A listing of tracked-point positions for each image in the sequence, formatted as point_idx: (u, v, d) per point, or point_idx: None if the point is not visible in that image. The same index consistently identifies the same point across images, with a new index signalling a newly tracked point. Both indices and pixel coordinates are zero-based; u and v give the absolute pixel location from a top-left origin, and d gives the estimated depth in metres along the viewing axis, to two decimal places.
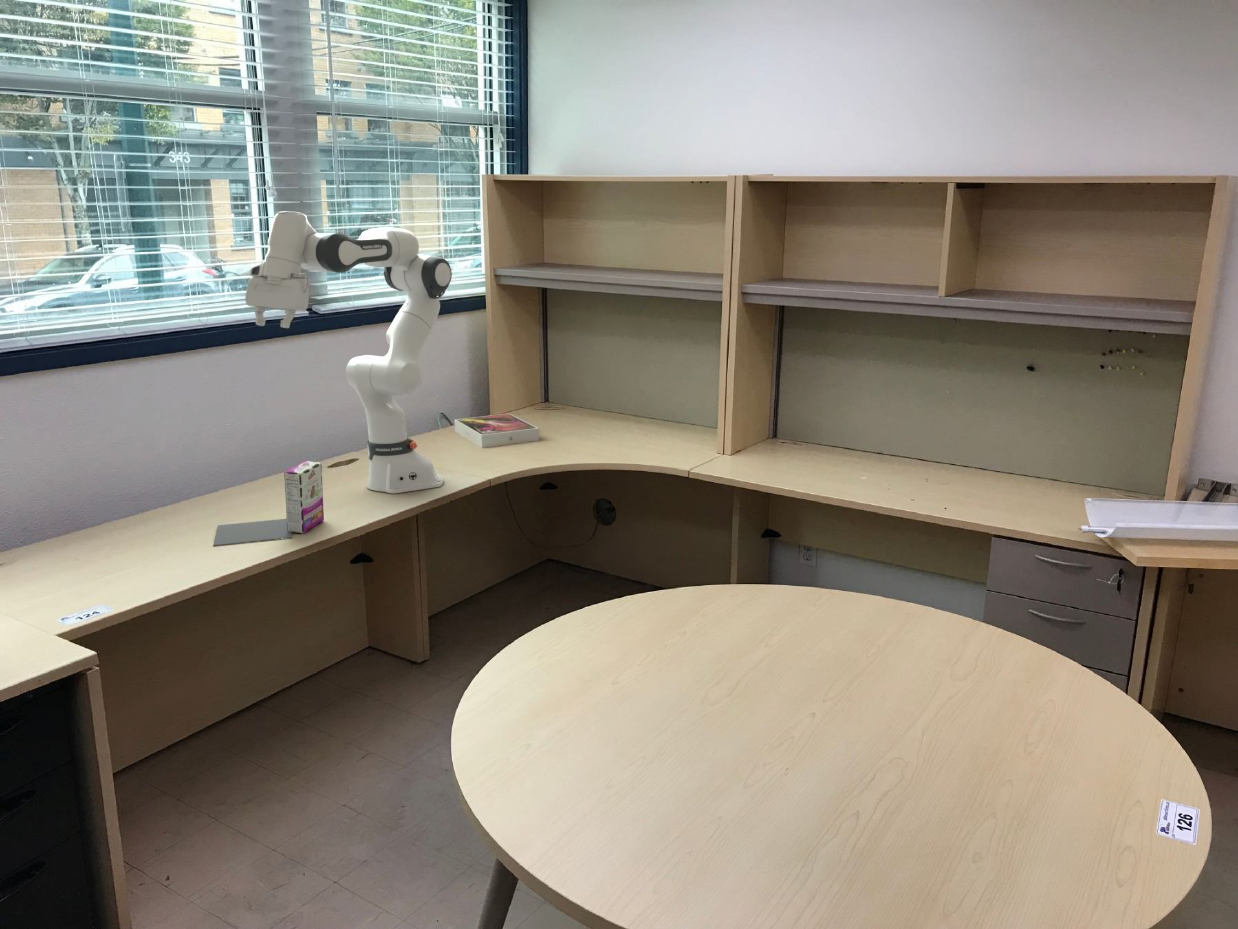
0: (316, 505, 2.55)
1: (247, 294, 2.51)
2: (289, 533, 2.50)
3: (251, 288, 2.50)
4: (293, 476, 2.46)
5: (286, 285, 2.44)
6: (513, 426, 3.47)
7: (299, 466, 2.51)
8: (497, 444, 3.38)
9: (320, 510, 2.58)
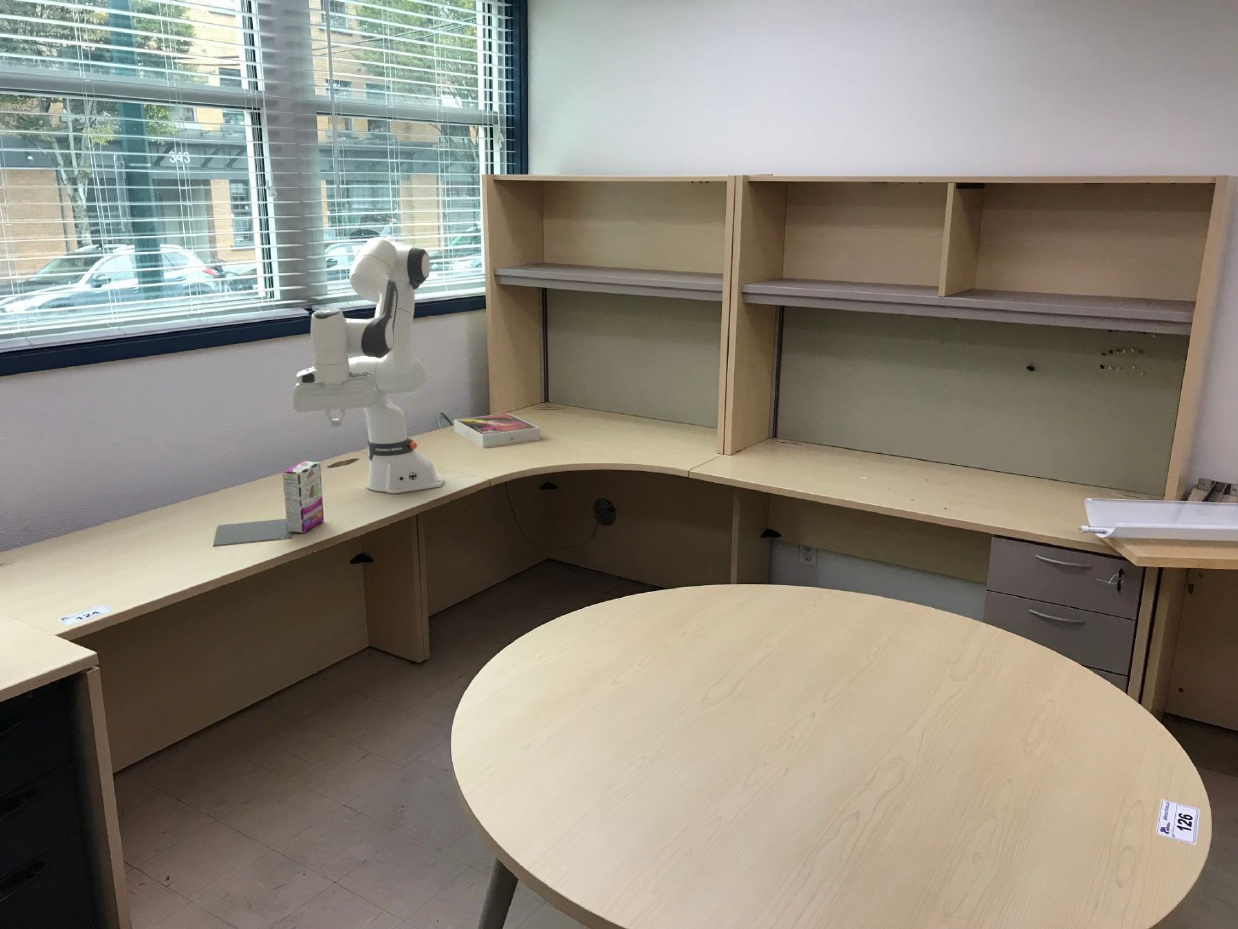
0: (315, 504, 2.55)
1: (297, 402, 2.45)
2: (289, 533, 2.50)
3: (300, 395, 2.45)
4: (291, 476, 2.46)
5: (352, 387, 2.48)
6: (513, 426, 3.47)
7: (298, 466, 2.51)
8: (498, 444, 3.38)
9: (320, 510, 2.58)
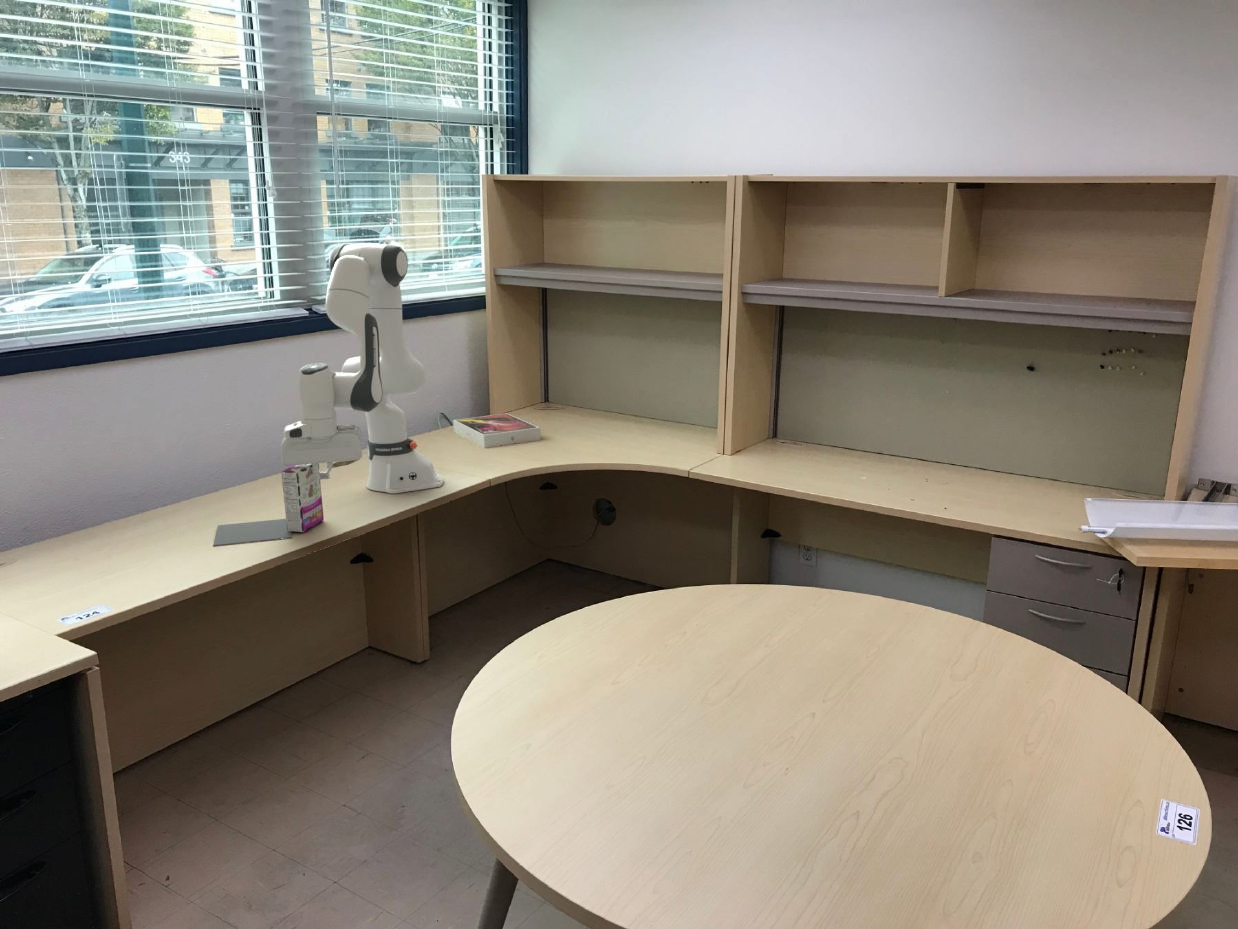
0: (315, 504, 2.55)
1: (284, 456, 2.47)
2: (289, 533, 2.50)
3: (288, 449, 2.47)
4: (290, 475, 2.47)
5: (340, 440, 2.51)
6: (514, 426, 3.47)
7: (296, 466, 2.52)
8: (499, 444, 3.38)
9: (319, 510, 2.58)
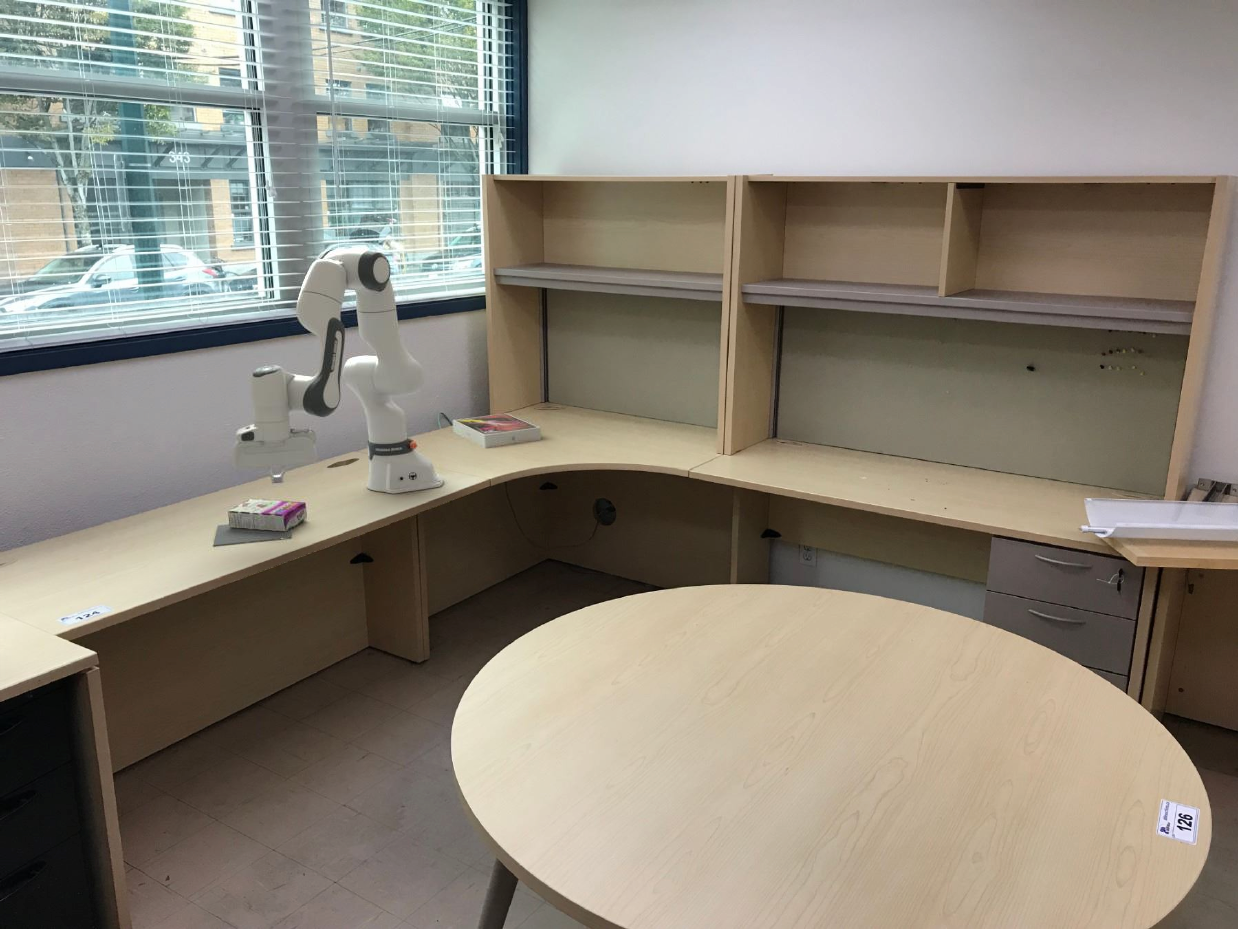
0: (279, 505, 2.57)
1: (237, 460, 2.44)
2: (289, 533, 2.50)
3: (240, 453, 2.44)
4: (231, 519, 2.53)
5: (293, 444, 2.47)
6: (514, 426, 3.47)
7: None
8: (500, 444, 3.38)
9: (290, 503, 2.58)
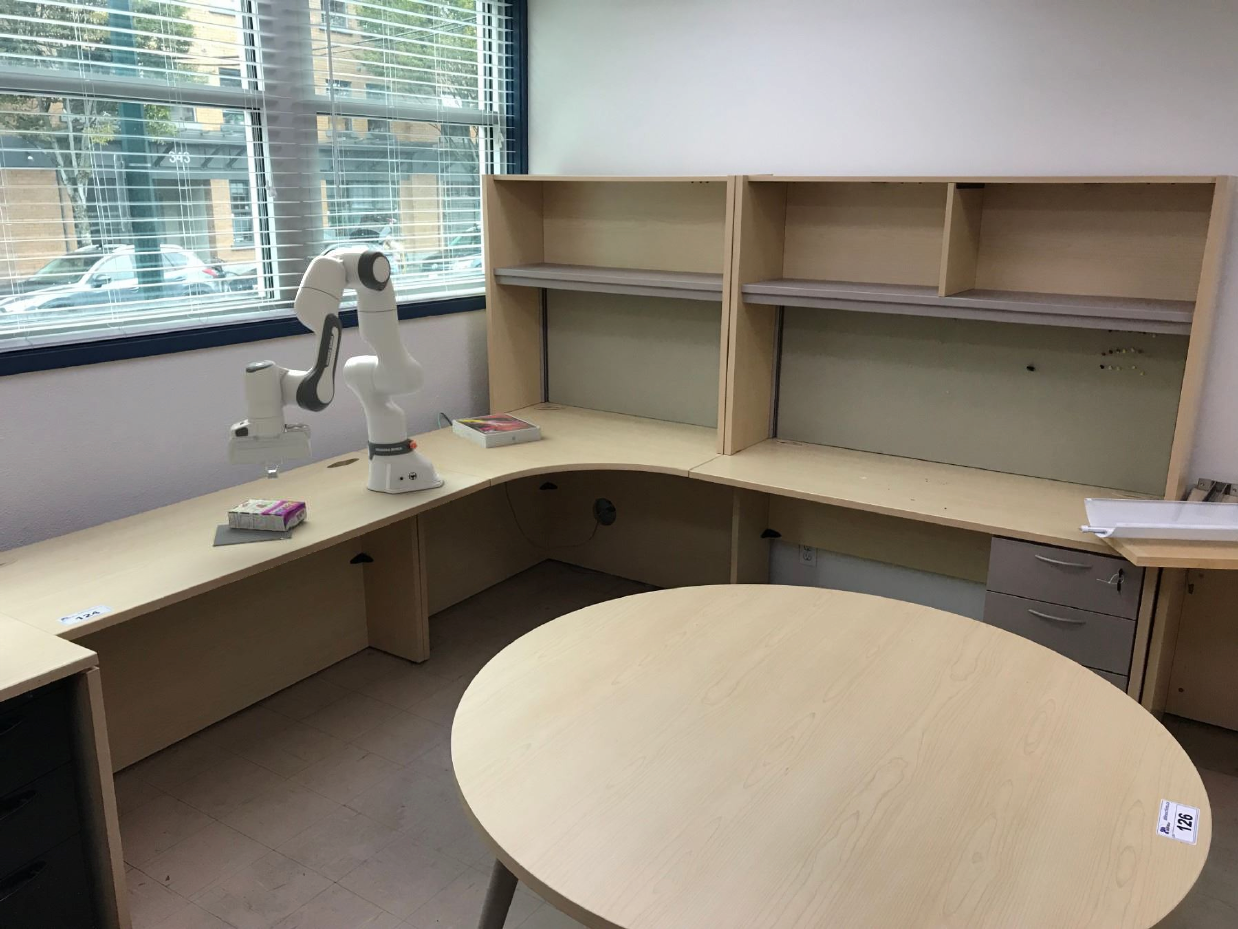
0: (278, 505, 2.57)
1: (231, 455, 2.43)
2: (289, 533, 2.50)
3: (235, 448, 2.43)
4: (231, 519, 2.53)
5: (288, 439, 2.47)
6: (514, 426, 3.47)
7: None
8: (501, 444, 3.38)
9: (290, 503, 2.58)
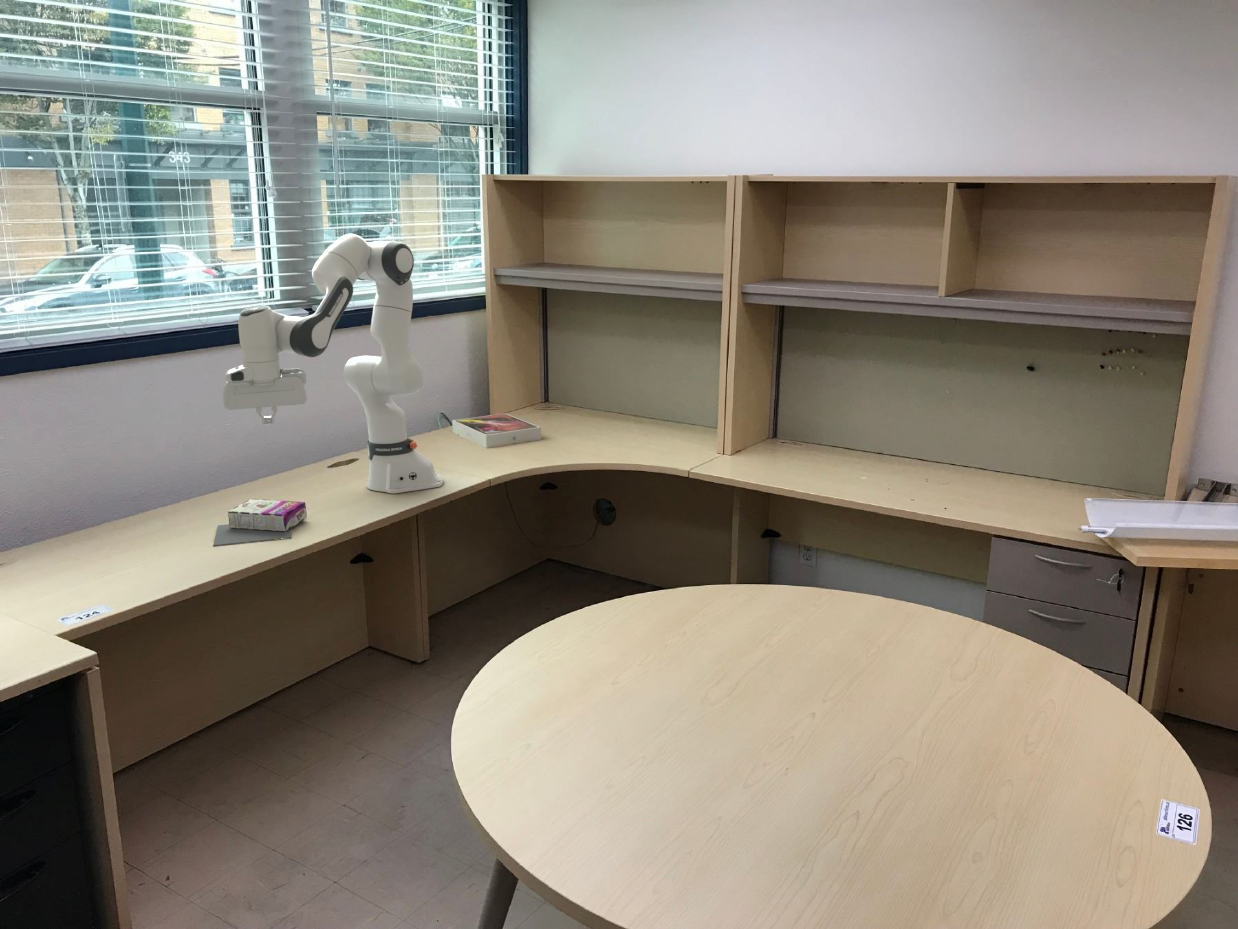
0: (278, 505, 2.57)
1: (227, 400, 2.44)
2: (289, 533, 2.50)
3: (230, 393, 2.44)
4: (231, 519, 2.53)
5: (283, 384, 2.48)
6: (514, 426, 3.48)
7: None
8: (501, 443, 3.38)
9: (290, 503, 2.58)
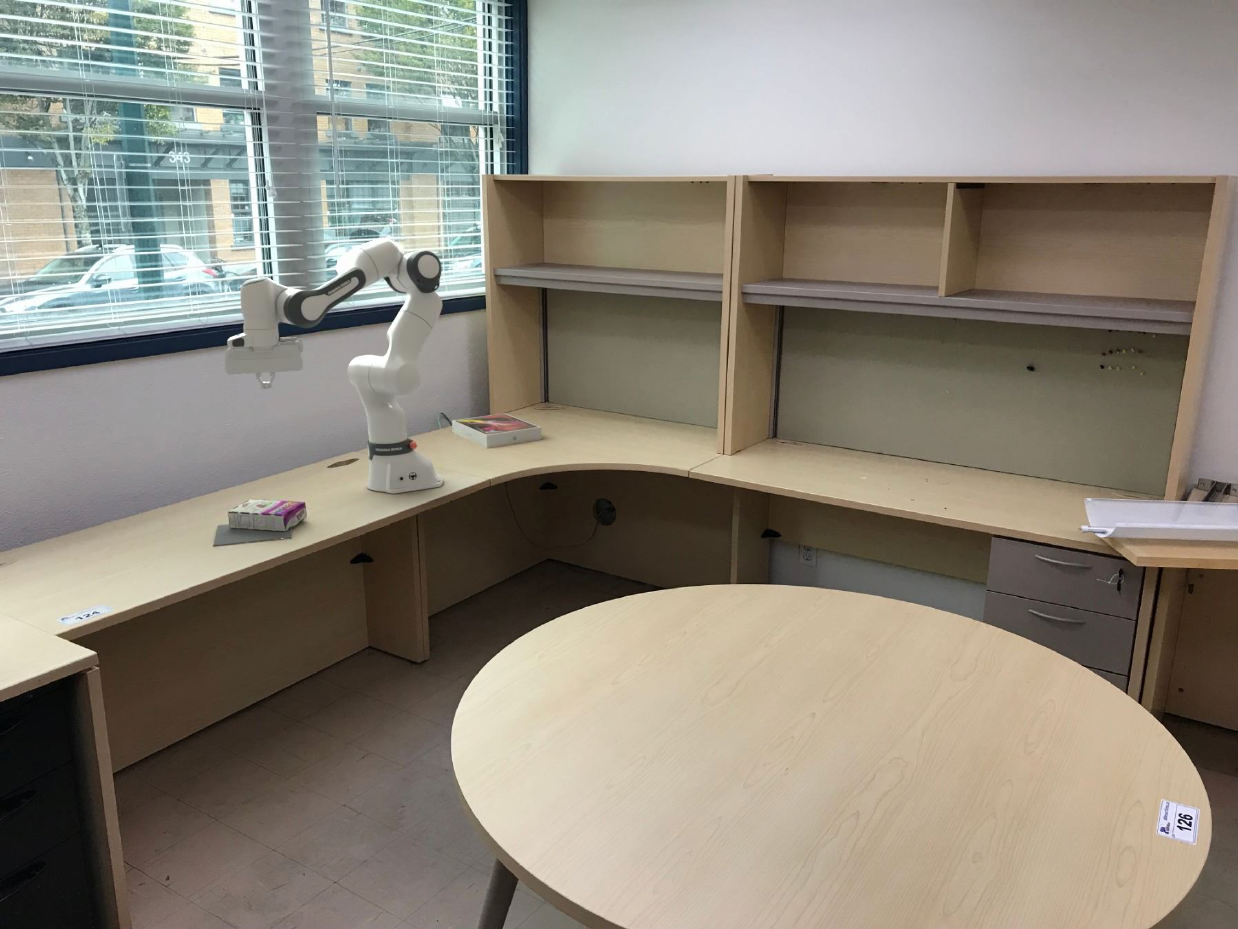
0: (278, 505, 2.57)
1: (228, 365, 2.60)
2: (289, 533, 2.50)
3: (231, 358, 2.60)
4: (231, 519, 2.53)
5: (281, 351, 2.64)
6: (514, 426, 3.48)
7: None
8: (502, 443, 3.38)
9: (290, 503, 2.58)
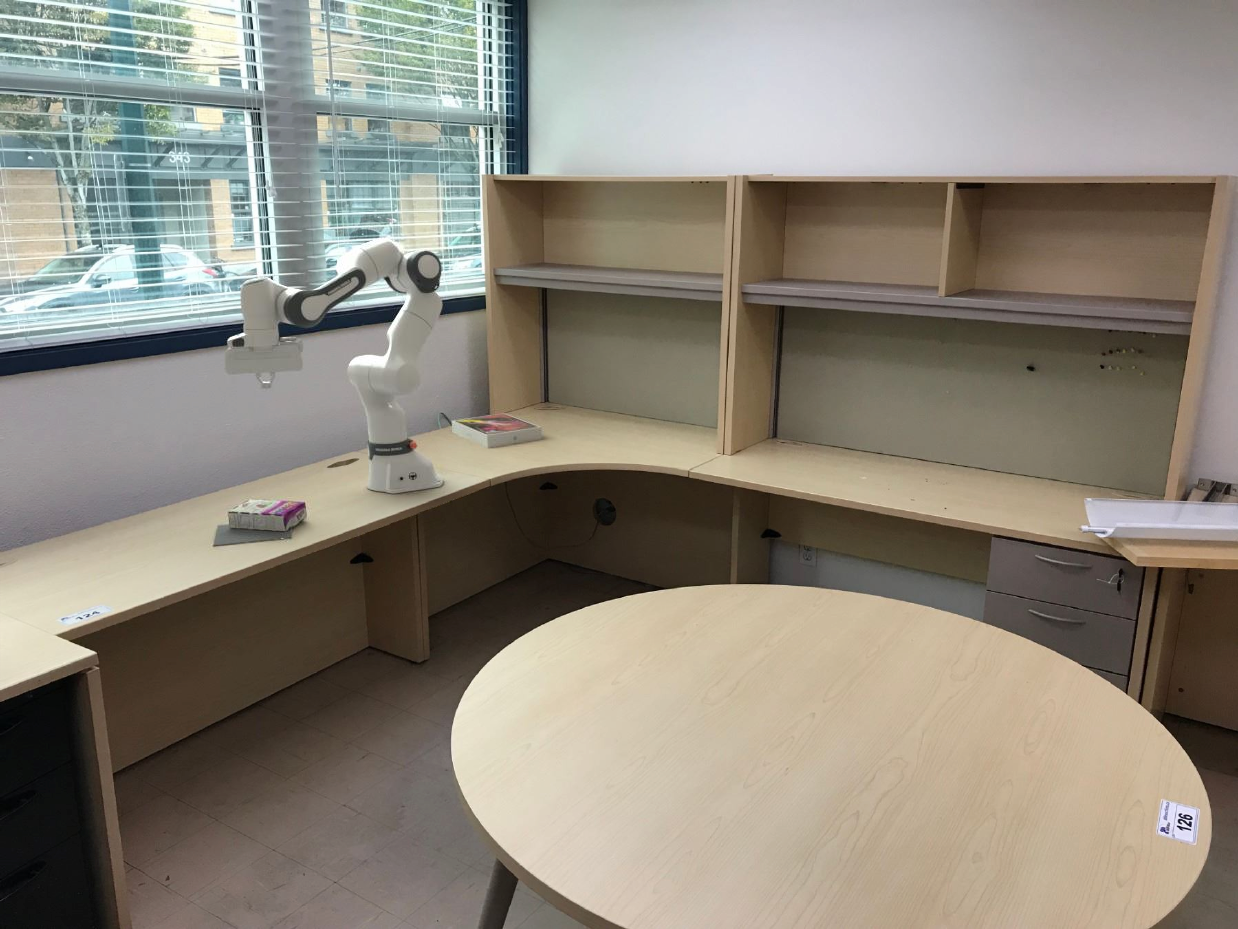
0: (278, 505, 2.57)
1: (228, 365, 2.60)
2: (289, 533, 2.50)
3: (231, 358, 2.60)
4: (231, 519, 2.53)
5: (281, 351, 2.64)
6: (514, 425, 3.48)
7: None
8: (502, 443, 3.38)
9: (290, 503, 2.58)
